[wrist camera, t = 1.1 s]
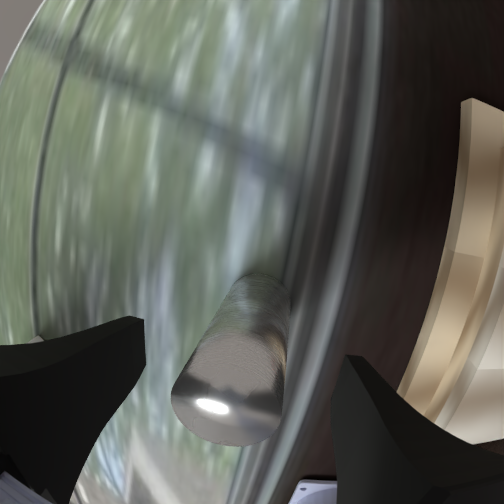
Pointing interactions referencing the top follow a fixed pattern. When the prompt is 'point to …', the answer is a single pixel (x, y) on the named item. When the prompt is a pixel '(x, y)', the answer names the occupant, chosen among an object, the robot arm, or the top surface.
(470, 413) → the collar stand
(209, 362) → the tube
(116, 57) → the top surface
